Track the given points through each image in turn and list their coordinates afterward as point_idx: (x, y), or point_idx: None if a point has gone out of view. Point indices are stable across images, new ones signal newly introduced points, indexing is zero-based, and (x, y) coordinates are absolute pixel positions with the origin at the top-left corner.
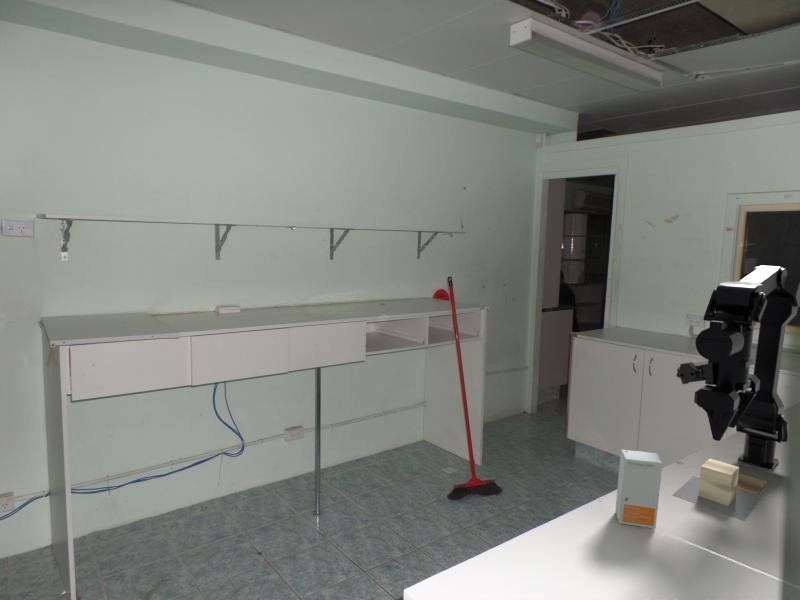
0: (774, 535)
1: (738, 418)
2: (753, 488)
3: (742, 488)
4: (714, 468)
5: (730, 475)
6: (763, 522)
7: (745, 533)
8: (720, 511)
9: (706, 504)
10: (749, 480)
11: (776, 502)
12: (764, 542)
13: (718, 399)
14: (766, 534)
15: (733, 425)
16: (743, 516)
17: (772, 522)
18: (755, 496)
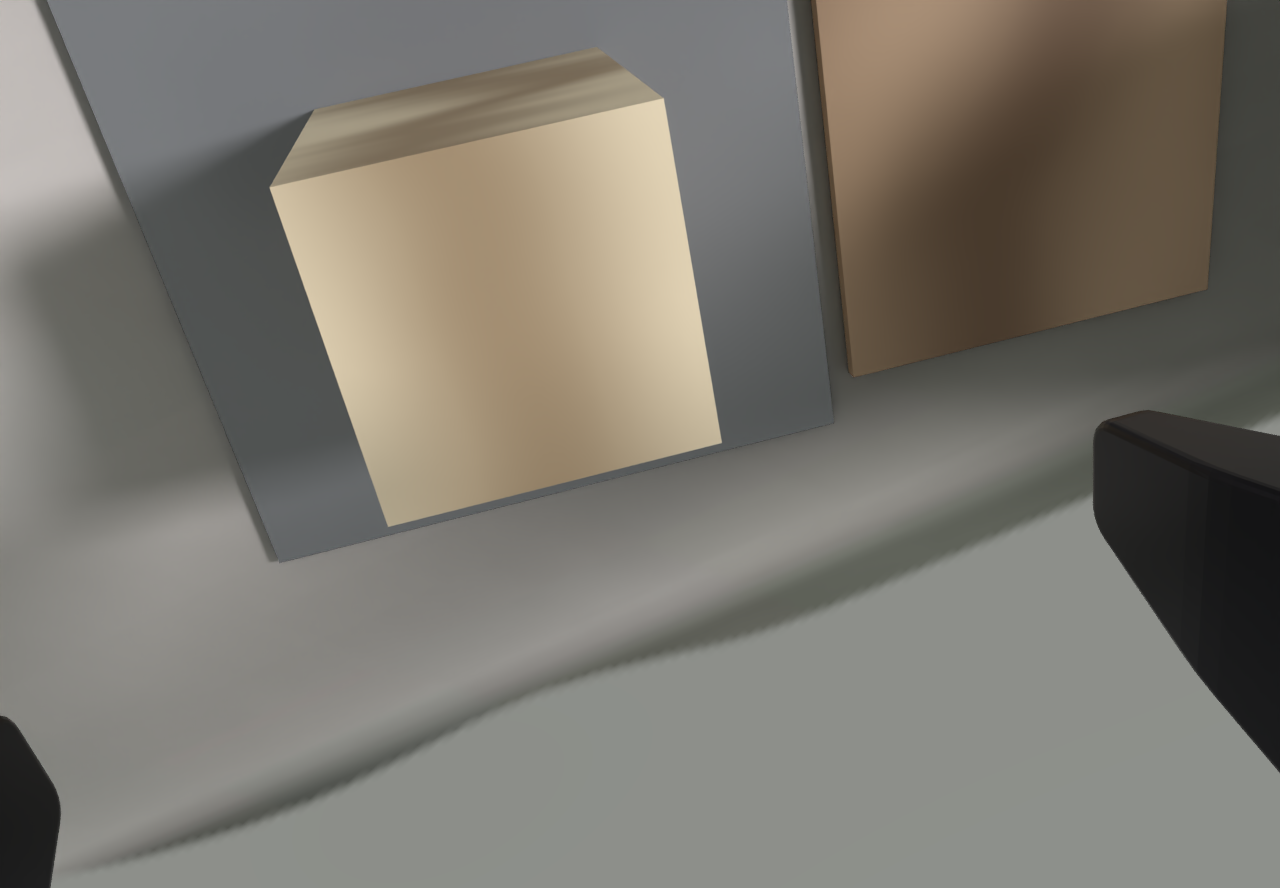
0: (312, 731)
1: (1261, 734)
2: (961, 300)
3: (878, 252)
4: (377, 328)
5: (388, 517)
6: (429, 613)
7: (117, 646)
8: (230, 394)
9: (226, 257)
10: (1112, 195)
11: (866, 495)
12: (139, 754)
13: None
14: (268, 706)
15: (1121, 548)
16: (349, 521)
17: (494, 637)
18: (814, 383)
